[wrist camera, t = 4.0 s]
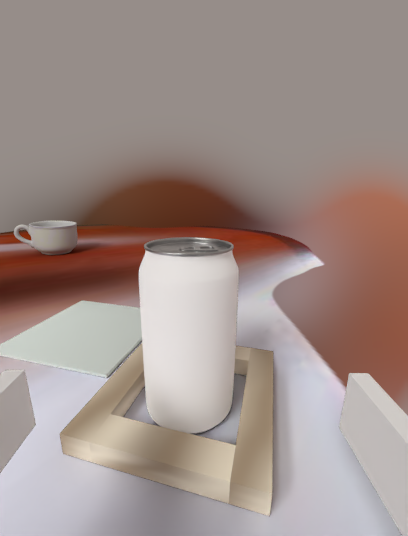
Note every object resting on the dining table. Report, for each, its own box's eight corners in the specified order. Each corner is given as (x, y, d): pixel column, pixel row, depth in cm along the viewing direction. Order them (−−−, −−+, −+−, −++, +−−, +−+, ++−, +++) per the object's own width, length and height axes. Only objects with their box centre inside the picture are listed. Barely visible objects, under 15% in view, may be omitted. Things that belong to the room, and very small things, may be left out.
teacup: (82, 248, 75) (79, 220, 73) (76, 256, 65) (72, 224, 63) (27, 250, 71) (22, 220, 69) (12, 259, 61) (5, 225, 59)
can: (152, 373, 22) (145, 236, 19) (225, 371, 23) (231, 236, 20) (138, 441, 16) (125, 255, 13) (240, 436, 17) (251, 255, 13)
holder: (63, 453, 15) (59, 433, 15) (151, 345, 27) (151, 332, 26) (269, 516, 13) (272, 493, 12) (271, 365, 24) (273, 351, 23)
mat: (-11, 353, 25) (-12, 350, 25) (82, 302, 37) (82, 300, 37) (106, 377, 22) (106, 374, 22) (166, 313, 34) (166, 311, 34)
